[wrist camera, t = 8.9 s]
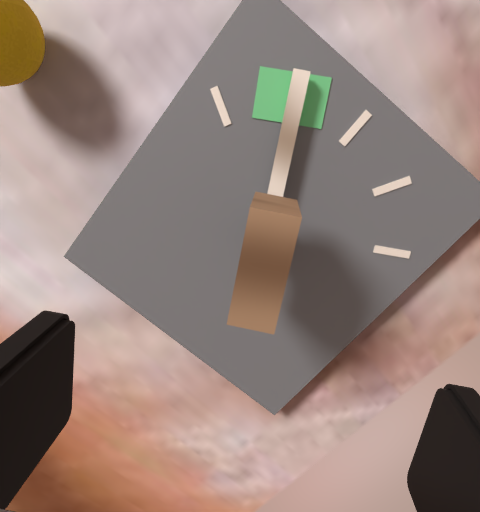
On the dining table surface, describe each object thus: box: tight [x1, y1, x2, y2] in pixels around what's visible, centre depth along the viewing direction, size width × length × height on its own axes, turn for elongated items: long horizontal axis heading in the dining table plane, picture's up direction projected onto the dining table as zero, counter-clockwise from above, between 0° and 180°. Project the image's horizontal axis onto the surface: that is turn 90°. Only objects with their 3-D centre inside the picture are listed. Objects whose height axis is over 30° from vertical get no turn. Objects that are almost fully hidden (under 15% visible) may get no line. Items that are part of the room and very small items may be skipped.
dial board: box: [64, 0, 480, 415], centre depth 29 cm, size 22×20×2 cm
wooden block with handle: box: [227, 68, 311, 334], centre depth 23 cm, size 13×2×9 cm, turn 169°
